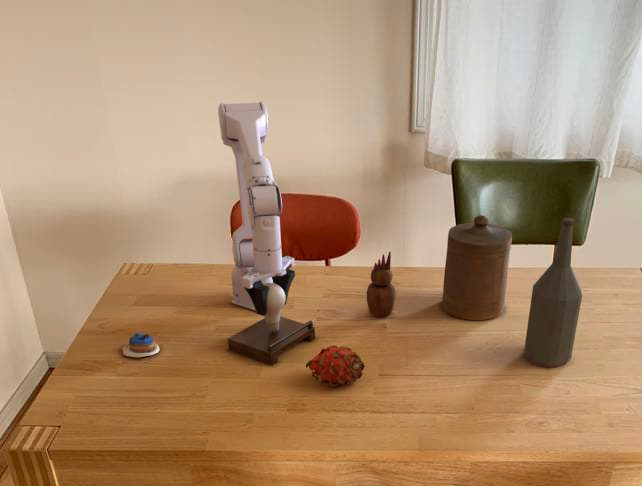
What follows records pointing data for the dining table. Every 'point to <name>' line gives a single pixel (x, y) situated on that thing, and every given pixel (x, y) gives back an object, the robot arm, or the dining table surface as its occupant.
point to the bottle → (554, 307)
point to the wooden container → (476, 270)
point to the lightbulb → (274, 306)
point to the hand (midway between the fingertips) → (271, 308)
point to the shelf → (270, 339)
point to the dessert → (140, 346)
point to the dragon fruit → (337, 365)
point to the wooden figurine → (381, 289)
